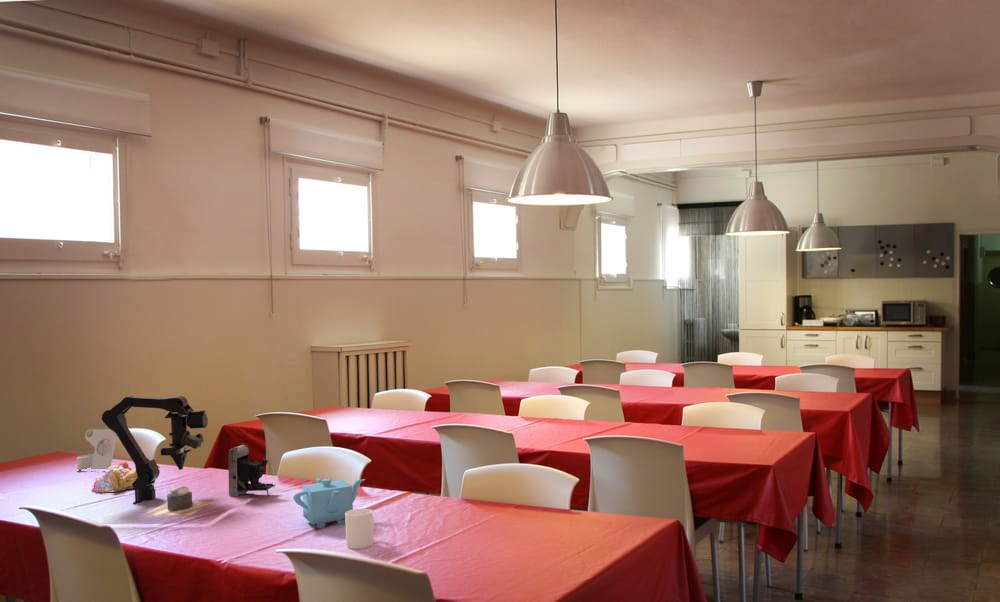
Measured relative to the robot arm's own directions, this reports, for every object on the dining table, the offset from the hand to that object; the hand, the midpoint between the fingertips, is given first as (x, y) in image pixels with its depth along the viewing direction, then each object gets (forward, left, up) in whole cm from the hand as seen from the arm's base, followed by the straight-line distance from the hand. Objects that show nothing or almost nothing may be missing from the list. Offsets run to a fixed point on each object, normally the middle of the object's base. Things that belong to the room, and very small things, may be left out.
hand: (180, 469), depth 323 cm
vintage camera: (+26, +6, -12) cm, 29 cm away
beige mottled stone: (+7, -15, -7) cm, 18 cm away
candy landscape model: (-40, +25, -13) cm, 49 cm away
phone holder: (-71, +58, -12) cm, 93 cm away
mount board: (+7, -16, -12) cm, 21 cm away
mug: (+87, -54, -12) cm, 103 cm away
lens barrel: (+7, -15, -11) cm, 20 cm away
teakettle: (+69, -30, -12) cm, 76 cm away
